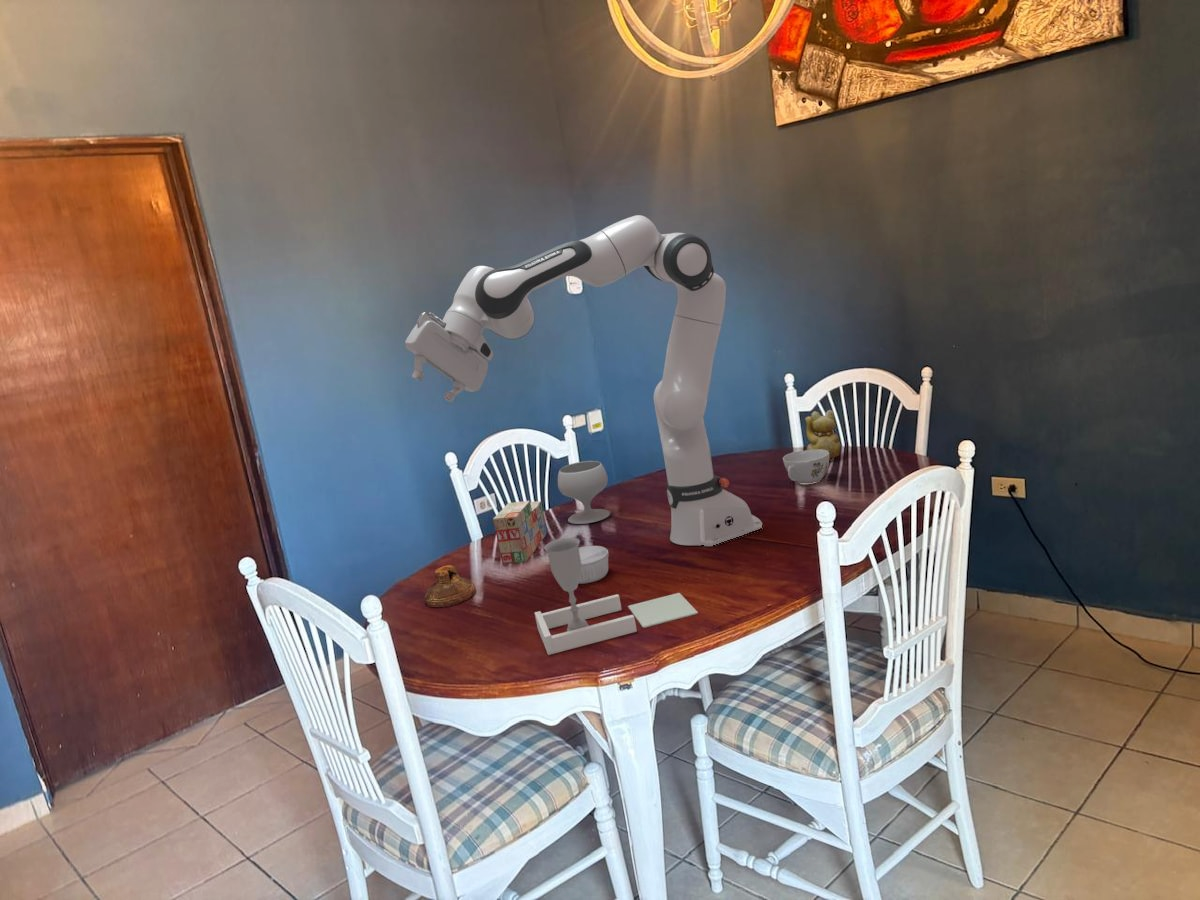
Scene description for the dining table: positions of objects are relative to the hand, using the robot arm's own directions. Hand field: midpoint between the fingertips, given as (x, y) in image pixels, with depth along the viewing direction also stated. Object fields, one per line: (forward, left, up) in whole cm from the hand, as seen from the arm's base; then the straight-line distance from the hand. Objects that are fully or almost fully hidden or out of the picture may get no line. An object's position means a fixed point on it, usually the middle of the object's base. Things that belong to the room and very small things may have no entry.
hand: (432, 389), depth 174 cm
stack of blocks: (-15, -27, -48) cm, 57 cm away
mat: (-34, +31, -48) cm, 67 cm away
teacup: (-94, -25, -48) cm, 109 cm away
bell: (+6, -5, -48) cm, 49 cm away
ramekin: (-25, +3, -48) cm, 54 cm away
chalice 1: (-35, -40, -48) cm, 72 cm away
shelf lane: (-19, +31, -48) cm, 60 cm away
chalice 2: (-17, +31, -48) cm, 60 cm away
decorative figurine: (-109, -42, -48) cm, 126 cm away
